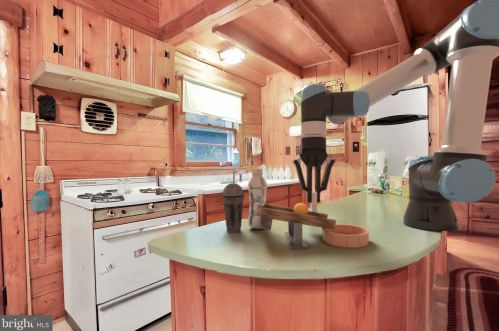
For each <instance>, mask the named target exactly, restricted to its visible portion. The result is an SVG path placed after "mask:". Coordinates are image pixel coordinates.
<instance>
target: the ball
mask: <svg viewBox="0 0 499 331" xmlns="http://www.w3.org/2000/svg"><path fill="white" fill-rule="evenodd" d="M293 209H294V213H298V214H304V215H307V214H308V211H309V208H308V206H307V205H306V204H305V203H303V202H299V203H296V204H295V205H294V206H293Z"/></svg>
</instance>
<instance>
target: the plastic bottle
mask: <svg viewBox="0 0 499 331" xmlns="http://www.w3.org/2000/svg"><path fill="white" fill-rule="evenodd" d="M251 175H252V176H251V178H250V179H249V181H248V184H247V188H248V196H249V211H248V212H249V213H248V220H247V223H248V227H249V228H250V229H254V230H262V228H260V226H259V219H260V215H259V208H260V203H261V202H264V204H267V203H266V202H267V191H268V182H267V181H266V179H265V178H264V177H263V175H264V170H263V168H252V169H251Z"/></svg>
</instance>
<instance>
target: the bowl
mask: <svg viewBox="0 0 499 331" xmlns="http://www.w3.org/2000/svg"><path fill="white" fill-rule="evenodd" d="M321 238H322V241H323V243H326V244H327V245H331V246H333V247H339V248H343V249H344V248H345V249H357V248H364V247H367V246H368V245H369V241H370V230H369V229H367V228H365V227H362V226H360V225H355V224H346V223H336V224H335V230H333V229H327V228H321Z"/></svg>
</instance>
